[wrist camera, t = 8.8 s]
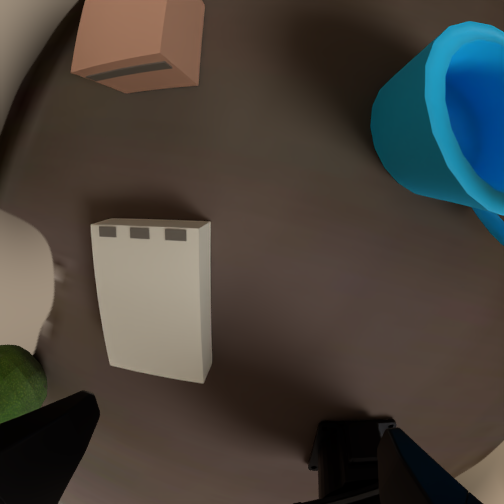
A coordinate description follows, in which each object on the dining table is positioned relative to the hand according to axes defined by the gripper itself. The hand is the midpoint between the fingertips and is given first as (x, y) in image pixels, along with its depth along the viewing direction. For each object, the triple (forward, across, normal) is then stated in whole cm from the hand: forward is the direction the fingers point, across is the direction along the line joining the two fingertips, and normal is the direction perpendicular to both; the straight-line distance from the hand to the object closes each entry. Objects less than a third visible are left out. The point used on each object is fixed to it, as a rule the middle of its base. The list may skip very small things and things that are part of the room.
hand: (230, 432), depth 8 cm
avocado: (+12, +23, +11) cm, 28 cm away
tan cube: (+12, +7, -15) cm, 21 cm away
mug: (+12, -11, -9) cm, 19 cm away
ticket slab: (+12, +7, +1) cm, 14 cm away
